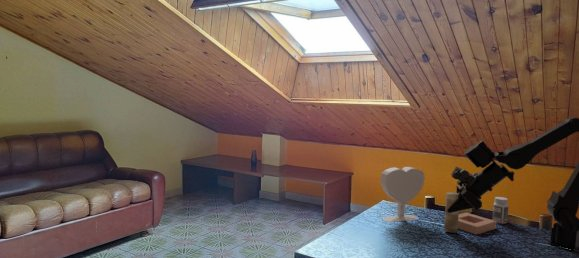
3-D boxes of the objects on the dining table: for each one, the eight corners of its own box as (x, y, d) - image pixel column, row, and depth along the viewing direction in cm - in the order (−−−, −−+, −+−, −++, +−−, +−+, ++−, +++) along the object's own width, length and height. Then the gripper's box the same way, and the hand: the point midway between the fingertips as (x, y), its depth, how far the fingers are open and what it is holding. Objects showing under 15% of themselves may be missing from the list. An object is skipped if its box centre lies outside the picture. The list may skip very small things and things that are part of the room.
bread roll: (441, 210, 159) (441, 199, 159) (458, 207, 163) (459, 197, 162) (458, 216, 152) (458, 205, 151) (476, 213, 155) (476, 203, 155)
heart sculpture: (415, 214, 152) (417, 165, 150) (423, 218, 147) (426, 168, 145) (377, 217, 147) (379, 167, 145) (385, 222, 142) (387, 170, 140)
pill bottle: (503, 219, 148) (505, 196, 147) (509, 224, 144) (511, 200, 143) (490, 219, 149) (491, 196, 148) (495, 223, 144) (497, 199, 143)
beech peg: (460, 231, 133) (462, 194, 132) (452, 233, 131) (454, 196, 130) (449, 227, 137) (451, 191, 135) (441, 229, 134) (443, 193, 133)
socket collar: (495, 228, 138) (496, 221, 138) (476, 234, 132) (477, 226, 132) (465, 219, 148) (466, 212, 147) (446, 224, 141) (446, 217, 141)
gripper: (465, 154, 139) (428, 184, 143) (472, 164, 121) (430, 198, 126) (489, 180, 138) (452, 209, 142) (500, 193, 120) (456, 226, 124)
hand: (447, 209), depth 134 cm, fingers closed on beech peg, 4 cm apart
